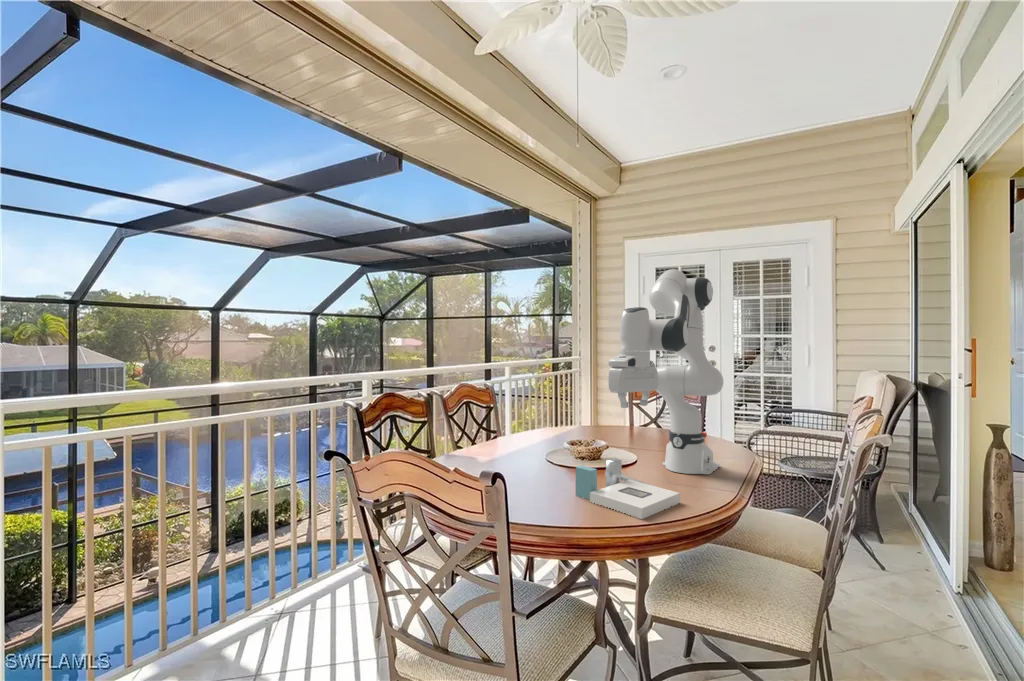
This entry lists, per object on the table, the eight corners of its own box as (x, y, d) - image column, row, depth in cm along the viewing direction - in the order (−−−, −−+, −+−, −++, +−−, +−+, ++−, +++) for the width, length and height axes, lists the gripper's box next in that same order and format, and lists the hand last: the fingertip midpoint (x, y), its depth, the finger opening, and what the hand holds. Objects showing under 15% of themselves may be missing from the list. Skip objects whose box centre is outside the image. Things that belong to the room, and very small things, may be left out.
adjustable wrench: (663, 494, 154) (663, 488, 154) (648, 497, 151) (648, 491, 151) (615, 473, 176) (615, 468, 176) (601, 475, 174) (601, 470, 174)
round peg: (612, 484, 162) (612, 457, 162) (624, 488, 158) (624, 460, 158) (602, 487, 158) (602, 460, 158) (615, 491, 155) (615, 463, 155)
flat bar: (581, 493, 152) (582, 465, 152) (596, 498, 148) (596, 469, 148) (575, 495, 150) (575, 466, 150) (590, 500, 146) (590, 470, 146)
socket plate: (629, 488, 157) (629, 479, 157) (679, 502, 144) (679, 492, 144) (589, 502, 144) (590, 491, 144) (641, 519, 130) (641, 507, 130)
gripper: (646, 360, 154) (645, 403, 153) (604, 360, 141) (604, 407, 140) (663, 360, 149) (663, 405, 149) (622, 361, 136) (621, 410, 136)
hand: (634, 406), depth 144 cm, fingers open, 8 cm apart
